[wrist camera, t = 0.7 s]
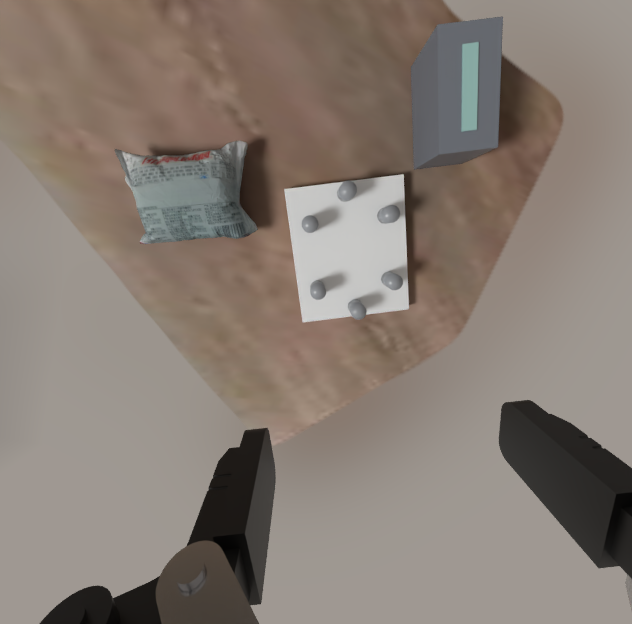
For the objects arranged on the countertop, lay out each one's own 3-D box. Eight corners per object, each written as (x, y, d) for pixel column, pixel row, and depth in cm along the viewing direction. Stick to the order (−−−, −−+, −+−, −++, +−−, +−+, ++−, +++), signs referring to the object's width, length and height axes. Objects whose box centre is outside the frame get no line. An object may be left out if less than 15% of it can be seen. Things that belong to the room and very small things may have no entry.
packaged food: (132, 155, 29) (98, 141, 25) (250, 146, 29) (239, 131, 25) (152, 244, 32) (125, 247, 27) (261, 236, 32) (253, 237, 27)
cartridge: (410, 67, 28) (438, 23, 22) (462, 61, 28) (504, 15, 22) (413, 169, 30) (439, 154, 24) (461, 163, 30) (499, 146, 24)
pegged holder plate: (285, 190, 30) (282, 185, 27) (400, 176, 30) (412, 168, 27) (302, 319, 34) (302, 329, 30) (405, 306, 34) (417, 315, 30)
